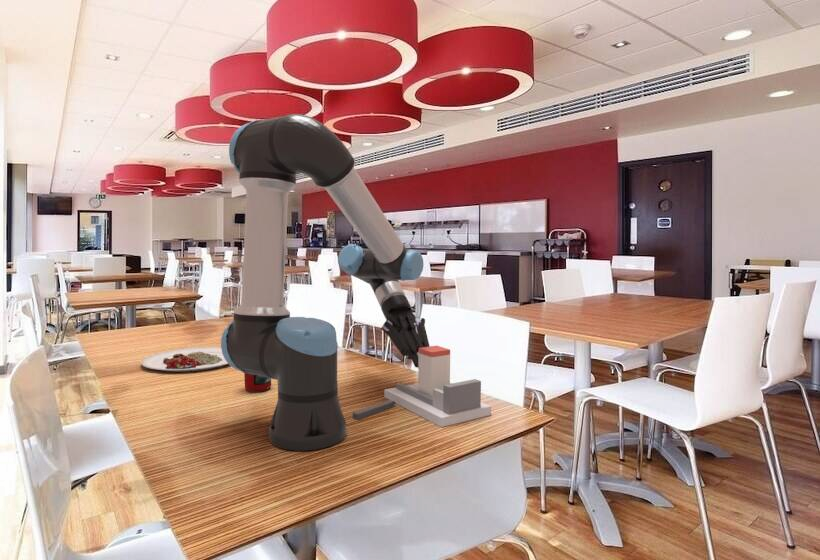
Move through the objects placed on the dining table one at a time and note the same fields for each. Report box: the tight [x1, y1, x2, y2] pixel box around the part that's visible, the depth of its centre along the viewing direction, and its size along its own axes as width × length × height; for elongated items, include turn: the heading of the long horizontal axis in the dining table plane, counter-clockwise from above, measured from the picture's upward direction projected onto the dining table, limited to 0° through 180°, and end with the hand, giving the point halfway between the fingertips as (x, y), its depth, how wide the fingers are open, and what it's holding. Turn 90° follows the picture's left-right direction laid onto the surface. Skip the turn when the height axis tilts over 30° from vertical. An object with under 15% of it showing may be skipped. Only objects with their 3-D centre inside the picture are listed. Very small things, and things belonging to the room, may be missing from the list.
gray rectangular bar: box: [352, 399, 396, 421], centre depth 116 cm, size 12×2×2 cm, turn 139°
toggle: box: [417, 345, 451, 397], centre depth 120 cm, size 5×5×11 cm
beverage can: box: [243, 373, 272, 393], centre depth 132 cm, size 7×7×12 cm
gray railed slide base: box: [384, 378, 492, 428], centre depth 120 cm, size 24×14×8 cm, turn 33°
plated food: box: [141, 346, 229, 373], centre depth 162 cm, size 30×30×3 cm
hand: (428, 376), depth 124 cm, fingers closed
